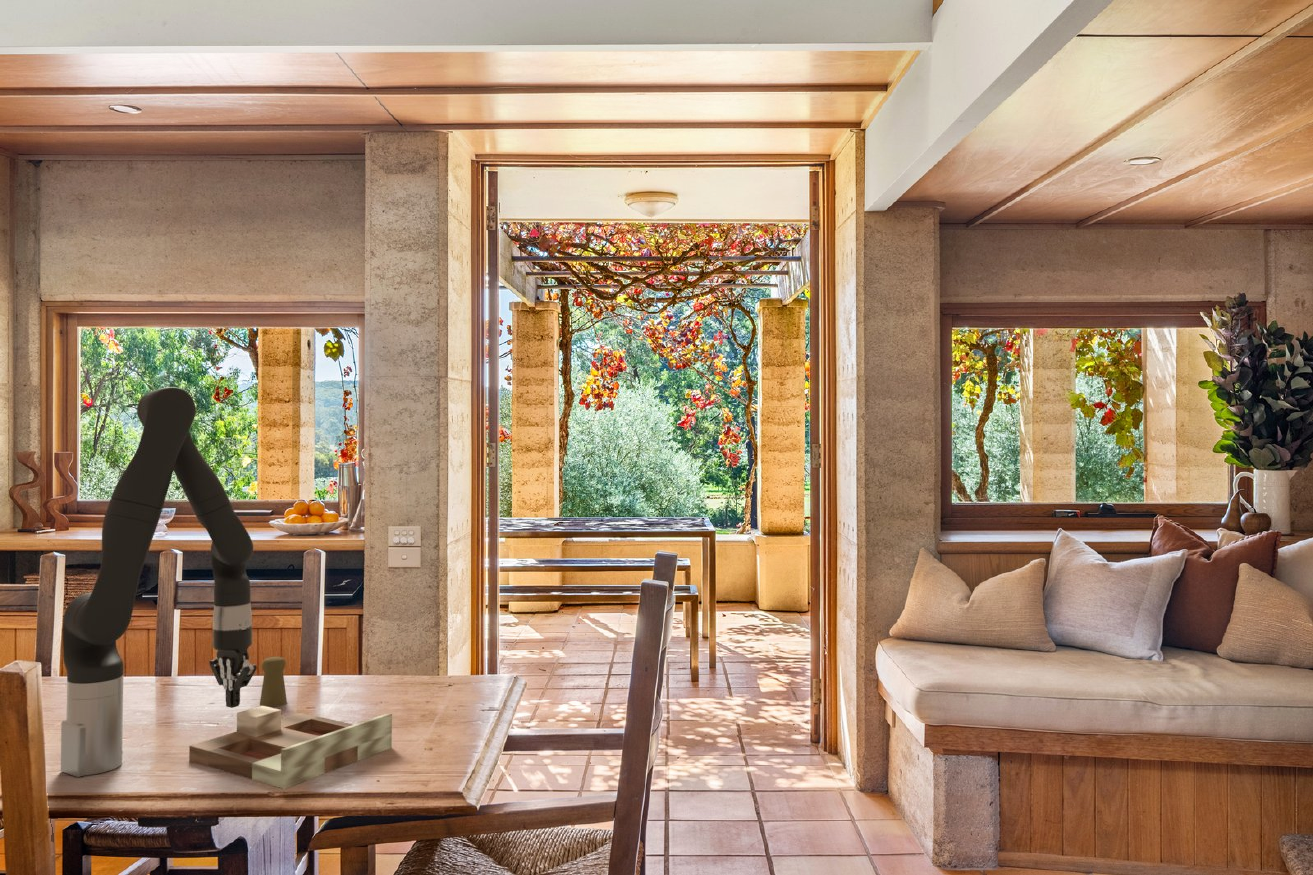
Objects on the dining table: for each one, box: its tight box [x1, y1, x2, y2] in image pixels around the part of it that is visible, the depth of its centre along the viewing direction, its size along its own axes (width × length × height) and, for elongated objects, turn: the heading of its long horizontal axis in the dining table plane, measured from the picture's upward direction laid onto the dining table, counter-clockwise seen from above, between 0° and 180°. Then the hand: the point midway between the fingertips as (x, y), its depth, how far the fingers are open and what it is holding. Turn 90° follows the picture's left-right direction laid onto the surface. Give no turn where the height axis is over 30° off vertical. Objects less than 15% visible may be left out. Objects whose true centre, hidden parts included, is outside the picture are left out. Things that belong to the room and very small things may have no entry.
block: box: [236, 705, 282, 737], centre depth 188 cm, size 6×6×4 cm
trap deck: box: [188, 712, 393, 790], centre depth 182 cm, size 26×28×7 cm
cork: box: [259, 656, 288, 708], centre depth 218 cm, size 6×6×11 cm
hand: (232, 706), depth 193 cm, fingers closed
